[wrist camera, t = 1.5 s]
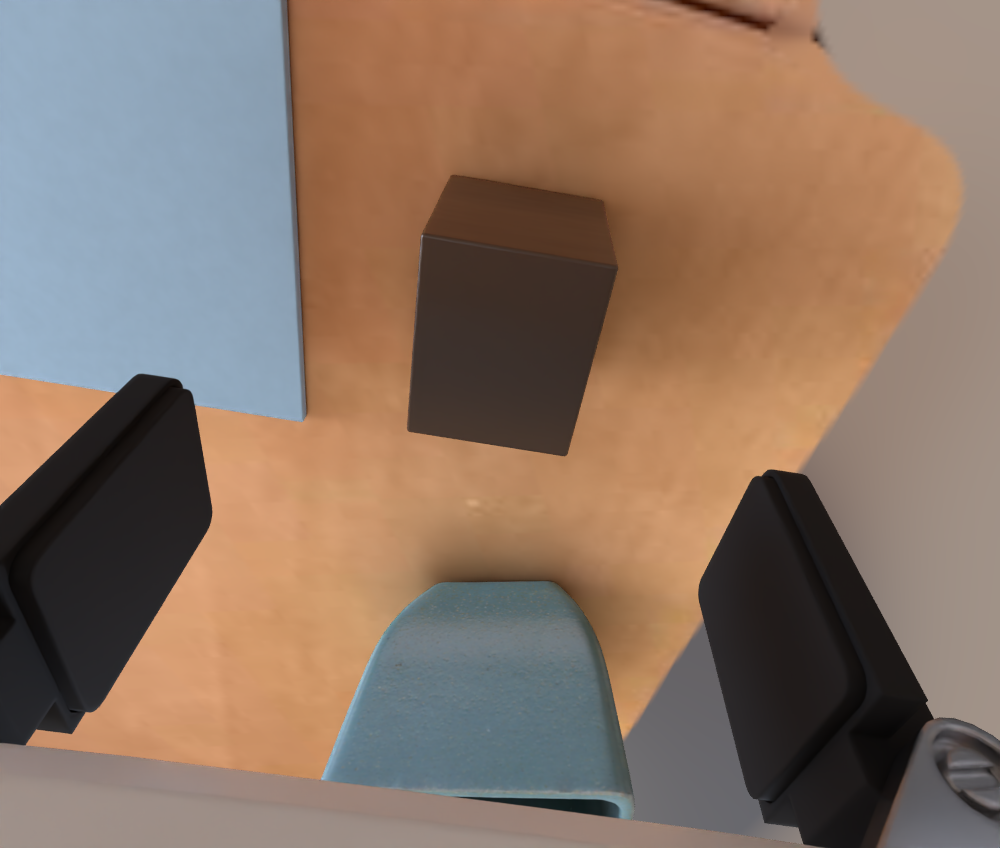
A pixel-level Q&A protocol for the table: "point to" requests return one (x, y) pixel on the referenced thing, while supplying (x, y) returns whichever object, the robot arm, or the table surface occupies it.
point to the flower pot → (489, 704)
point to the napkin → (151, 199)
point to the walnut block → (508, 314)
